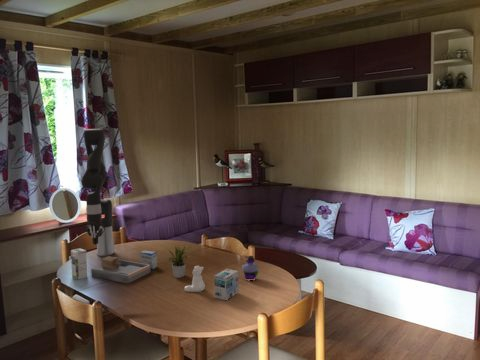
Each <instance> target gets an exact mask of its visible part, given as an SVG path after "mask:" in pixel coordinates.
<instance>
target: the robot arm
mask: <svg viewBox="0 0 480 360" xmlns="http://www.w3.org/2000/svg"><path fill="white" fill-rule="evenodd" d="M83 140H84V141H83V142H84V145H85V152H86V158H87V160H86V168H85V172H84V173H83V176H82V178H81V186H82V187H83V188H84V189H90V191H91V192H89V193H87V194H86V195H85V196H86V198H85V199H86V221H87V225H85V226H84V230H85V232H86V233H87V234H88V236H89V237H91V239H92V245H94V246H96V251H97V254H96V255H97V256H99V257H107V256H111V255H113V254H114V253H116V252H115V237H114V236H113V203H112V200H111V199H105V198H103V199H102V198H101V193H102V189H103V188H102V187H103V186H104V183H105V182H106V179H107V173H106V166H105V165H104V163H103V161H101V160H102V156H103V152H104V147H105V143H106V135H105V131H104V130H103V128H86V129H85V130H84V131H83ZM93 146H96V147H95V149H93ZM102 215H103V216H104V218H103V217H102Z"/></svg>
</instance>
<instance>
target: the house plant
mask: <svg viewBox="0 0 480 360" xmlns="http://www.w3.org/2000/svg"><path fill="white" fill-rule="evenodd" d="M186 248H187V245H185V246H183V248H182V249H181V248H180V245H176V244H175V246H174V250H175V251H174V253H175V254H174V253H173V252H172V251H171V250H170V249H168V248H166V250H167V251H168V252H169V253H170V254H171V255H170V254H169V255H168V256H169V257H168V260H169V262H172V263H171V268H172V272H173V277H174V278H177V279H178V278H183V277H184V276H185V271H186V265H187V264H186V263H185V262H186V260H187V259H188V258H190V255H189V256H188V255H187V254H188V253H189V252H190V250H189V249H191V248H192V249H193V248H194V247H188V248H187V249H186Z"/></svg>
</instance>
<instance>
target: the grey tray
mask: <svg viewBox="0 0 480 360" xmlns="http://www.w3.org/2000/svg"><path fill="white" fill-rule="evenodd" d="M118 261H119V267H118V268H115V269H113V270H110V269H105V268H102V266H101V267H98V268H92V267H91V268H90V270H91V274H90V275H91V277H92V278H93V277H95V278H99V279H103V280H108V281H113V282H119V283H123V284H130V283H132V282H133V281H136V280H138V279H140V278H141V277H144V276H146V275H149V274H150V273H151V272H152V269H151V265H149V264H143V263H141V262H136V261H131V260H125V259H121V258H120V259H119V258H118Z"/></svg>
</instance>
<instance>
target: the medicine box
mask: <svg viewBox="0 0 480 360" xmlns="http://www.w3.org/2000/svg"><path fill="white" fill-rule="evenodd" d="M157 253H158V252H157V251H152V250H142V251H141V252H140V255H139V256H140V257H139V258H140V263H143V264H149V265H151V270H153V269H156V268H157V267H158V256H157Z"/></svg>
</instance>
